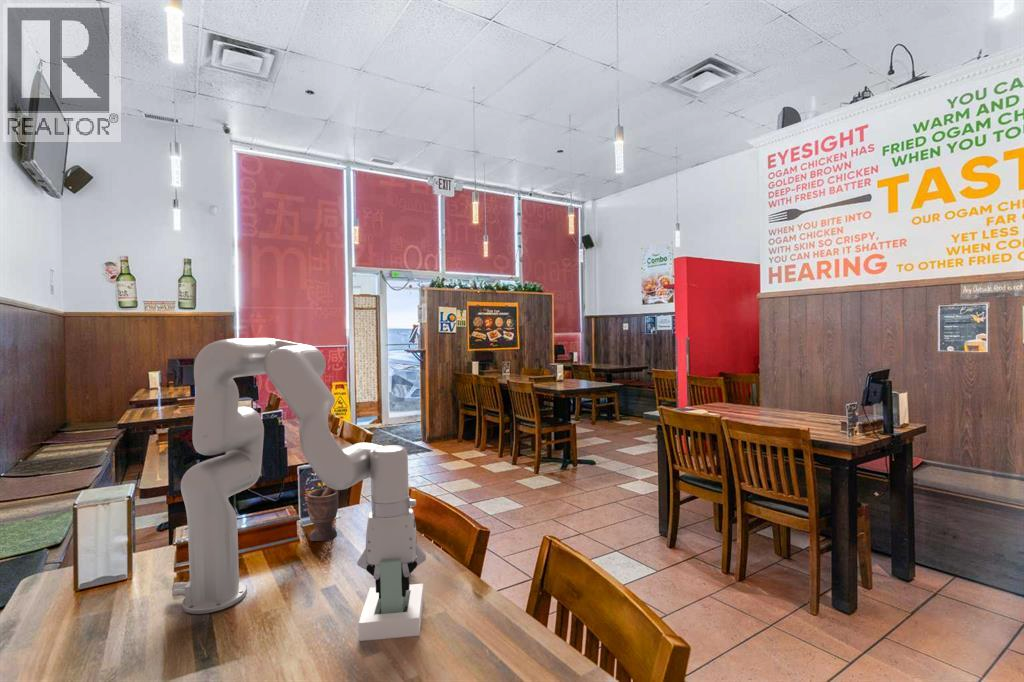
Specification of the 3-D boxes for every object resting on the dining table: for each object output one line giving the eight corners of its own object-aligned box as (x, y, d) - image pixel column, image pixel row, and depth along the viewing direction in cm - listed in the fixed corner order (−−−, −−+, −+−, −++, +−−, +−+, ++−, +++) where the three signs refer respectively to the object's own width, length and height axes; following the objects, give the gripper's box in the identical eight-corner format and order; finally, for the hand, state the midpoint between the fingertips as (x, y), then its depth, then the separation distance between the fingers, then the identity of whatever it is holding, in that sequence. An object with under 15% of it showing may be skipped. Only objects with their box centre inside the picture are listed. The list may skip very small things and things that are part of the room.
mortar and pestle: (323, 526, 155) (321, 462, 155) (349, 527, 154) (347, 462, 154) (302, 542, 144) (300, 472, 144) (330, 543, 143) (328, 473, 142)
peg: (381, 622, 101) (379, 563, 101) (385, 606, 107) (384, 550, 107) (401, 620, 101) (400, 561, 101) (404, 604, 107) (403, 548, 107)
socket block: (359, 641, 97) (358, 623, 97) (370, 603, 110) (370, 587, 110) (419, 635, 98) (419, 617, 98) (423, 599, 112) (423, 583, 112)
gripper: (432, 498, 108) (434, 582, 109) (352, 503, 107) (355, 588, 107) (430, 510, 101) (433, 600, 101) (344, 516, 99) (347, 607, 99)
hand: (393, 593), depth 104 cm, fingers closed on peg, 4 cm apart
